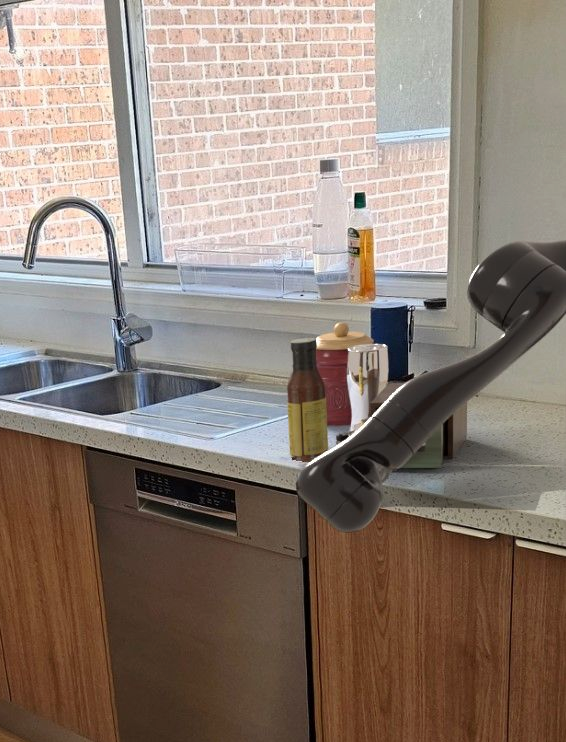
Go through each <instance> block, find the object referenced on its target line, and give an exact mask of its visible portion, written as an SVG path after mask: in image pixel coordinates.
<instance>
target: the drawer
mask: <svg viewBox="0 0 566 742" xmlns="http://www.w3.org/2000/svg"><path fill="white" fill-rule="evenodd" d="M369 418H371V417H368V418H365V419H364V423H366V422H367V420H368V419H369ZM447 448H448V419H447V420H446V421H445V422H444V423H443V424H442V425H441V426H440V427H439V428H438V429H437V430H436V431H435V432H434V434H433V435H432V436H431V437H430V438H429V439H428V440H427V441H426V442H425V451H423V452H419V451H417V452H416V453H415V454H413V456H412V457H411V458H410V459H409V460H408V461H407V462H406V463H405V464H404V465H403V466H402V467H400V468H399V469H441V468H442V467H443V464H444V459H443V455H444V453H445V452H446V450H447Z"/></svg>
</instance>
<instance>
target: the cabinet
mask: <svg viewBox="0 0 566 742" xmlns="http://www.w3.org/2000/svg"><path fill="white" fill-rule="evenodd" d="M405 383H406V382H389V383H387V386H386V387H385V388H384V389H383V390H382V391H381V392H380V393H379V394H378V396H377V397H376V398H375V399H374V400H373V401H372V402H371V403H370V410H371V416H372V415H373V414H374V413H375V412H376V411H377V410H378V409H379V408H380V407H381V406H382V405H383V404H384V402H385V401H386V400H387V399H388V398H389V397H390V396H391V395H392V394H393V393H394V392H395V391H396V390H397V389H398V388H399V387H401V386H402V385H403V384H405ZM467 439H468V401H467V402H466V403H465V404H464V405H463V406H462V407H460V408H459V409H458V410H457V411H456V412H455V413H454V414H453V415H451V416H450V417H449V418H448V448H447V450H446V452H445V453H444V455H443V460H450V461H453V460H454V459H455V458H456V456H457V454H458V453H459V451H460V450H461V448H462V446H463V445H464V444H465V442H466V440H467Z"/></svg>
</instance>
